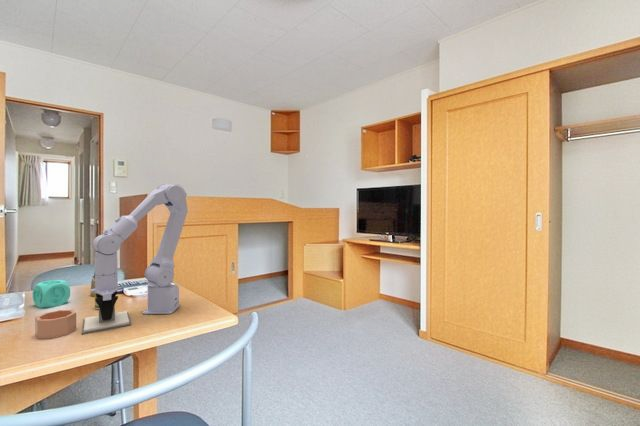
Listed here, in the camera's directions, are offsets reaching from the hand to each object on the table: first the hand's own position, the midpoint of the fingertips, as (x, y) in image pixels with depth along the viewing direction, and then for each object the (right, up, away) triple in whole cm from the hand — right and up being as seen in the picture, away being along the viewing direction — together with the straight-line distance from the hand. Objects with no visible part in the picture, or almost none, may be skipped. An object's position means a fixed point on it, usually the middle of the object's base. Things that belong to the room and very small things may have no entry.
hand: (106, 317), depth 96 cm
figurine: (-22, -1, +29) cm, 37 cm away
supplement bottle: (-11, -1, +14) cm, 18 cm away
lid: (0, -1, 0) cm, 1 cm away
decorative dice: (-31, -1, +17) cm, 36 cm away
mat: (0, -2, 0) cm, 2 cm away
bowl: (-10, -2, -7) cm, 12 cm away
